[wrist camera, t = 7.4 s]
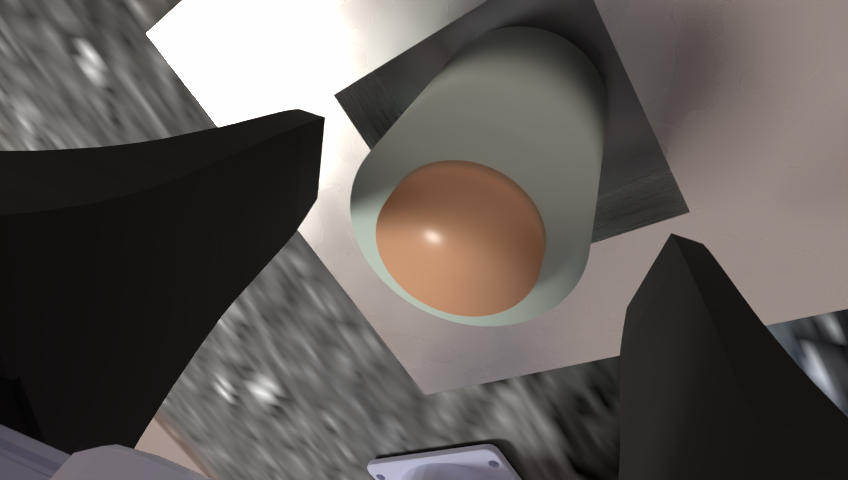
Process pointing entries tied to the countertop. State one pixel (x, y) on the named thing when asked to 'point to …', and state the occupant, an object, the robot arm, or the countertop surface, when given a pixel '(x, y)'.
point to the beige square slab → (622, 157)
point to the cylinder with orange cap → (488, 181)
